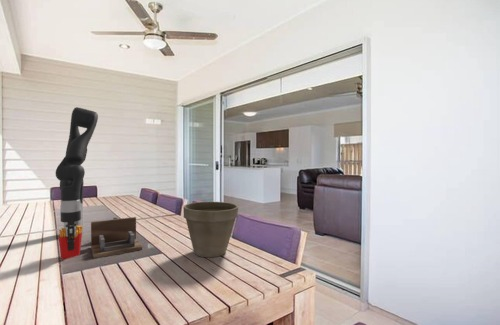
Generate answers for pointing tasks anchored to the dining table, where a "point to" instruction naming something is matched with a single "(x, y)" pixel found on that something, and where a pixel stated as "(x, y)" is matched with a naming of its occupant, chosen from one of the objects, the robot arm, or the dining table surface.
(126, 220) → the wooden shelf
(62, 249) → the french fries
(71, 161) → the robot arm
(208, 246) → the plant pot
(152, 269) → the dining table surface
